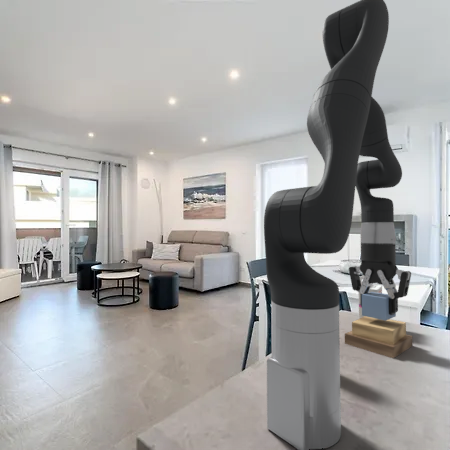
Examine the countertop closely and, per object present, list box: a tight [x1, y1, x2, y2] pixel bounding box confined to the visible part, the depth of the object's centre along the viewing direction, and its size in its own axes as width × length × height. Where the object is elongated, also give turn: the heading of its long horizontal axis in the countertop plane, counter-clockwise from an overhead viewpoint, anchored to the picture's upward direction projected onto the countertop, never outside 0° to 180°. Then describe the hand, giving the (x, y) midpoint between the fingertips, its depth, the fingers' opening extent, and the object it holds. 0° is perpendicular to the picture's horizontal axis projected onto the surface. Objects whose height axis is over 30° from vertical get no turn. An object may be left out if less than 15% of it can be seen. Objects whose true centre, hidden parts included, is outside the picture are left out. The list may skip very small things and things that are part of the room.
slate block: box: [362, 292, 397, 321], centre depth 71 cm, size 6×6×5 cm
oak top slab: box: [351, 316, 407, 345], centre depth 71 cm, size 9×9×3 cm
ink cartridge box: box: [357, 274, 383, 319], centre depth 83 cm, size 9×5×15 cm, turn 144°
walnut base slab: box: [344, 330, 414, 359], centre depth 71 cm, size 11×11×3 cm
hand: (378, 311), depth 71 cm, fingers closed on slate block, 5 cm apart
